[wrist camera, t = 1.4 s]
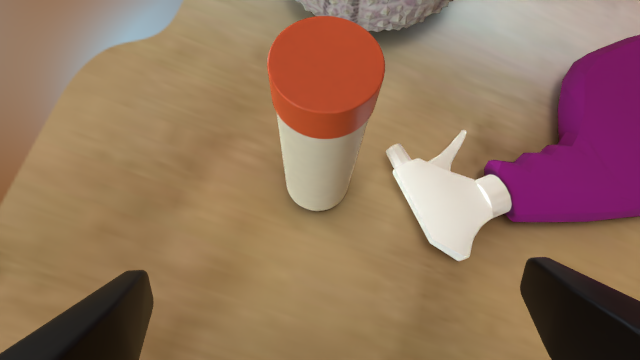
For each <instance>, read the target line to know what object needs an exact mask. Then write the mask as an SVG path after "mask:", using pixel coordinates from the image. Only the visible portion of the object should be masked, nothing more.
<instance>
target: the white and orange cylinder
mask: <svg viewBox="0 0 640 360" xmlns="http://www.w3.org/2000/svg"><path fill="white" fill-rule="evenodd" d="M267 68H268V75H269V82H270V88H271V95H272V101H273V105H274V108H275V110H276V112H277V118H278V126H279V133H280V140H281V148H282V155H283V162H284V170H285V177H286V184H287V189H288V192H289V194H290V196H291V198H292V199H293V200H294V201H295V202H296V203H297V204H298V205H300V206H301V207H303V208H305V209H308V210H313V211H322V210H327V209H330V208H332V207H334V206H336V205H337V204H338V203H339V202H340V201H341V200H342V199H343V198H344V196H345V194H346V192H347V189H348V186H349V182H350V179H351V176H352V172H353V169H354V165H355V162H356V159H357V155H358V152H359V148H360V145H361V142H362V138H363V135H364V131H365V128H366V125H367V121H368V119H369V117H370V116H371V114H372V112H373V110H374V107H375V104H376V101H377V98H378V94H379V91H380V88H381V85H382V81H383V78H384V73H385V61H384V56H383V53H382V50H381V48H380V46H379V44H378V43H377V41H376V40H375V38H374V37H373V36H372V35H371V34H370V33H369V32H368V31H367V30H365V29H364V28H363V27H361V26H360V25H358V24H356V23H354V22H352V21H349V20H347V19H343V18H339V17H334V16H316V17H310V18H306V19H303V20H300V21H297V22H295V23H293V24H292V25H290V26H289V27H287V28H286V29H285V30H283V31H282V32H281V33H280V34H279V35H278V36H277V38H276V39H275V41H274V42H273V44H272V46H271V48H270V51H269V54H268V60H267Z"/></svg>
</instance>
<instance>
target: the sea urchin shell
mask: <svg viewBox="0 0 640 360" xmlns="http://www.w3.org/2000/svg"><path fill="white" fill-rule="evenodd" d="M295 1H297V2H300V3H301V4H303V7H304V9H305V11H312V14H314V15H315V16H334V17H339V18H343V19H347V20H349V21H352V22H354V23H356V24H358V25H360V26H361V27H363V28H364V29H365V30H367V31H368V32H369V31H371V30H373V31H376V32H380V31H382V30H384V29H385V30H388V31H390V30H391V29H396V30H400V29H401V28H402V27H405V28H408V27H409V26H411V25H412V24H413V25H414V24H416V23H417V22H422V23H423V22H424V20H425V18H426V17H427V16H428V15H430V14H432V13H440V11H441V9H442V7H447V6H448V3H449V2H451V1H453V0H295Z"/></svg>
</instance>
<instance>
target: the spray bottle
mask: <svg viewBox="0 0 640 360" xmlns="http://www.w3.org/2000/svg"><path fill="white" fill-rule="evenodd" d="M466 133H467V131H465V130H462V131H461V132H460V133H459V134H458V136H457V137H456V138H455V139H454V140H453V141H452V143H451V144H450V145H449V146H448V147H447V148H446V149H445V150H444V151H443V152H442V153H441V154H440V155H438V156H437V157H435V158H433V159H432V160H430V161H428V162H426V161H424V160H422V159H419V158H417V159H414V160H411V158H410V157H409V155H408V154H407V152H406V151H405V150H404V148H403V147H402V145H401V144H398V143H397V144H395V145H393V146H391V147H390V148H388V149H387V150H386V154H387V156H388V158H389V160H390V162H391V164H392V166H393V168H394V170H393V172H392V173H393V175H394V177H395V179H396V181H397V182H398V184H399V186H400V188H401V190H402V192H403V194H404V196H405V198H406V199H407V201H408V203H409V205H410V207H411V209H412V211H413V213H414V214H415V216H416V218H417V220H418V222H419V224H420V226H421V228H422V230H423V231H424V233H425V235H426V237H427V239H428V241H429V243H430V244H432V245H434V246H435V247H437V248H438V249H440V250H441V251H443V252H445V253H446V254H448V255H449V256H451V257H452V258H454V259H456V260H457V261H461V260H464V259H466V258H468V257H470V252H471V247H472V242H473V239H474V237H475V236H476V234H477V232H478V231H479V229H480V228H481V226H483V225H484V224H485V223H486V222H488V221H489V220H490V219H492V218H494V217H497V216H499V215H502V214H505V215H506V216H507V217H508V218H509V219H510V220H512V221H513V222H589V221H598V220H607V219H616V218H625V217H637V216H640V35H637V36H633V37H629V38H626V39H624V40H621V41H618V42H616V43H613V44H611V45H608V46H606V47H603V48H600V49H598V50H596V51H594V52H591V53H589V54H587V55H585V56H584V57H582V58H581V59H579V60H577V61H576V62H574V63H573V65H572V66H571V68H570V69H569V71H568V72H567V74H566V76H565V77H564V79H563V81H562V86H561V92H560V99H559V105H558V134H559V142H558V144H556V145H547V146H546V147H545V148H544V149H543V150H542V151H541V152H540V153H523V154H522V155H521V156H520V157H519V158H518V159H517V160H516V161H515V162H506V161H499V160H491V161H488V163H487V165H486V166H485V168H484V175H485V176H484V177H482V178H479V179H477V180H474V179H471V178H468V177H465V176H462V175H459V174H456V173H453V172H451V163H452V161H453V159H454V157H455V155H456V154H457V152H458V150H459V148H460V146H461V145H462V142H463V140H464V138H465V135H466Z"/></svg>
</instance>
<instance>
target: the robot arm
mask: <svg viewBox="0 0 640 360" xmlns="http://www.w3.org/2000/svg"><path fill="white" fill-rule="evenodd" d="M520 291H521V295H522V297H523V300H524V302H525V304H526V306H527V308H528V311H529V313H530V315H531V317H532V319H533V322H534V324H535V326H536V328H537V331H538V333H539V335H540V337H541V339H542V342H543V344H544V346H545V348H546V350H547V352H548V354H549V356H550V358H551V359H552V360H640V301H638V300H636V299H634V298H632V297H630V296H628V295H625V294H623V293H621V292H619V291H617V290H615V289H613V288H611V287H609V286H606V285H604V284H602V283H600V282H598V281H596V280H594V279H592V278H590V277H588V276H585V275H583V274H581V273H579V272H577V271H575V270H573V269H571V268H569V267H567V266H564V265H562V264H560V263H558V262H556V261H554V260H552V259H550V258H547V257H535V258H530V259H528V260H527V262H526V265H525V269H524V273H523V277H522V280H521V285H520ZM152 309H153V295H152V291H151V286H150V282H149V278H148V274H147V272H146V271H144V270H132V271H126V272H124V273H123V274H121V275H120V276H118V277H116V278H115V279H113V280H112V281H110V282H109V283H107V284H106V285H104V286H103V287H101V288H100V289H98V290H97V291H95V292H94V293H92V294H91V295H89V296H88V297H86V298H84V299H83V300H81V301H80V302H78V303H77V304H75V305H74V306H72V307H71V308H69V309H68V310H66V311H65V312H63V313H62V314H60V315H59V316H57V317H55V318H54V319H52V320H51V321H49V322H48V323H46V324H45V325H43V326H42V327H40V328H39V329H37V330H36V331H34V332H33V333H31V334H30V335H28V336H26V337H25V338H23V339H22V340H20V341H19V342H17V343H16V344H14V345H13V346H11V347H10V348H8V349H7V350H5V351H4V352H2V353H1V354H0V360H139V357H140V353H141V350H142V346H143V342H144V339H145V335H146V331H147V328H148V324H149V320H150V317H151V313H152Z"/></svg>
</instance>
